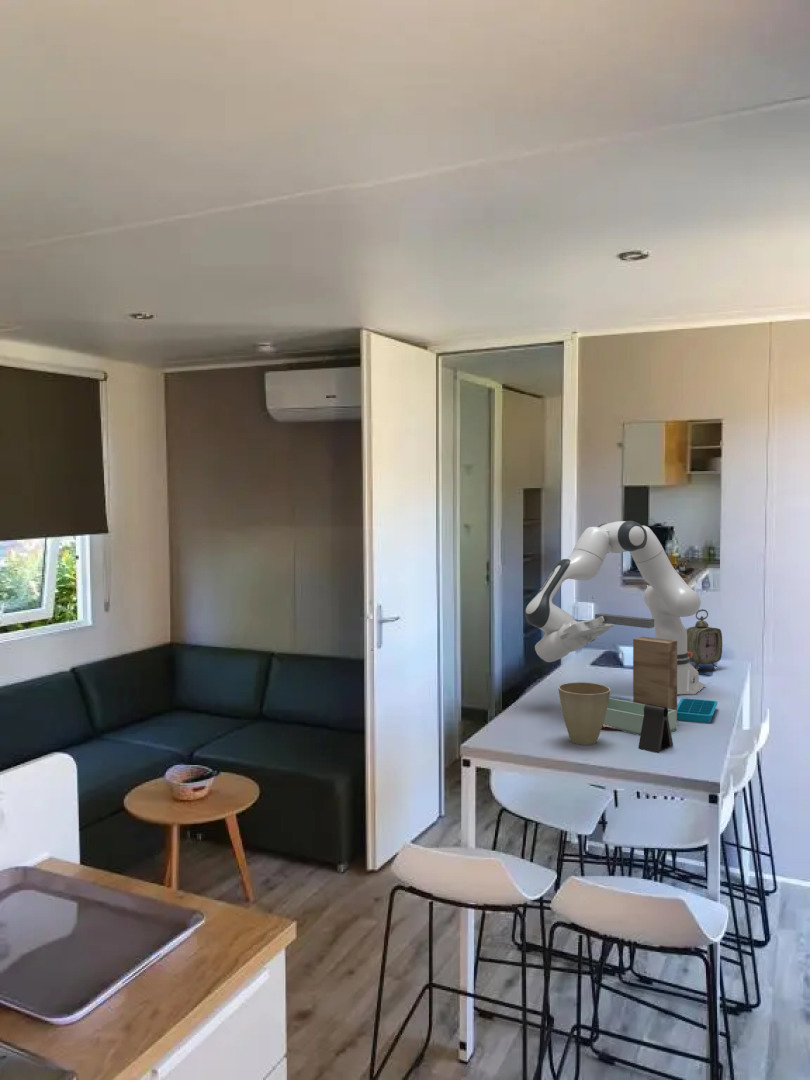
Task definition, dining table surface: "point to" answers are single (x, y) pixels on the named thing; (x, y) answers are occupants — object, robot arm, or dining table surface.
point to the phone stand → (655, 729)
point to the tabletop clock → (704, 642)
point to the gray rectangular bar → (627, 620)
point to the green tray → (631, 716)
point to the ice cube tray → (695, 710)
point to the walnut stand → (655, 672)
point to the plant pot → (584, 710)
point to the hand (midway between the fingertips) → (607, 617)
